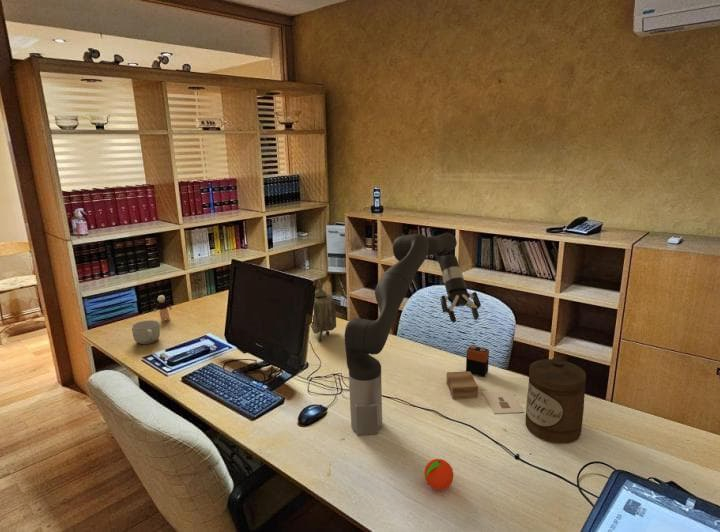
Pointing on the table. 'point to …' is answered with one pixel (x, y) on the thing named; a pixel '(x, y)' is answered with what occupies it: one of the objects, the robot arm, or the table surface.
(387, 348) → the table surface
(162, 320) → the grandmother figurine
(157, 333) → the teacup
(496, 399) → the page
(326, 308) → the grey brown tall figure
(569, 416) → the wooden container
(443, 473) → the red tomato
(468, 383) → the base brick
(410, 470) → the table surface
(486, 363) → the battery
